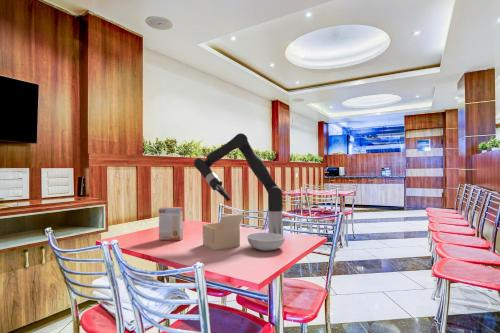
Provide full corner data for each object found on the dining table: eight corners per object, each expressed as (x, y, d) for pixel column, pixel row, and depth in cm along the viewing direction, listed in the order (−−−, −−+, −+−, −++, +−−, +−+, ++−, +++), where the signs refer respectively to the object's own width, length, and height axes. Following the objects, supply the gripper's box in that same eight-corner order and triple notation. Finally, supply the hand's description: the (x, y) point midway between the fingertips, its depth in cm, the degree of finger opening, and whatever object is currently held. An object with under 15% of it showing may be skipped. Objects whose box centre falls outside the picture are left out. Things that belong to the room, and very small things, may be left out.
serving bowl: (279, 255, 146) (279, 242, 146) (242, 252, 153) (241, 239, 154) (288, 245, 166) (288, 233, 166) (254, 242, 173) (254, 231, 173)
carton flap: (222, 216, 151) (222, 217, 151) (244, 213, 159) (244, 214, 158) (216, 228, 156) (216, 229, 156) (238, 225, 164) (238, 226, 164)
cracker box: (183, 238, 184) (183, 206, 185) (180, 241, 178) (179, 207, 179) (162, 238, 186) (162, 206, 186) (158, 240, 180) (158, 207, 180)
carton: (201, 244, 169) (201, 224, 169) (226, 240, 179) (226, 221, 179) (214, 251, 155) (213, 229, 156) (240, 246, 165) (240, 225, 165)
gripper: (213, 173, 175) (228, 193, 166) (222, 180, 186) (237, 198, 178) (204, 182, 175) (219, 201, 167) (214, 188, 187) (228, 206, 178)
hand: (228, 200), depth 172 cm, fingers closed
